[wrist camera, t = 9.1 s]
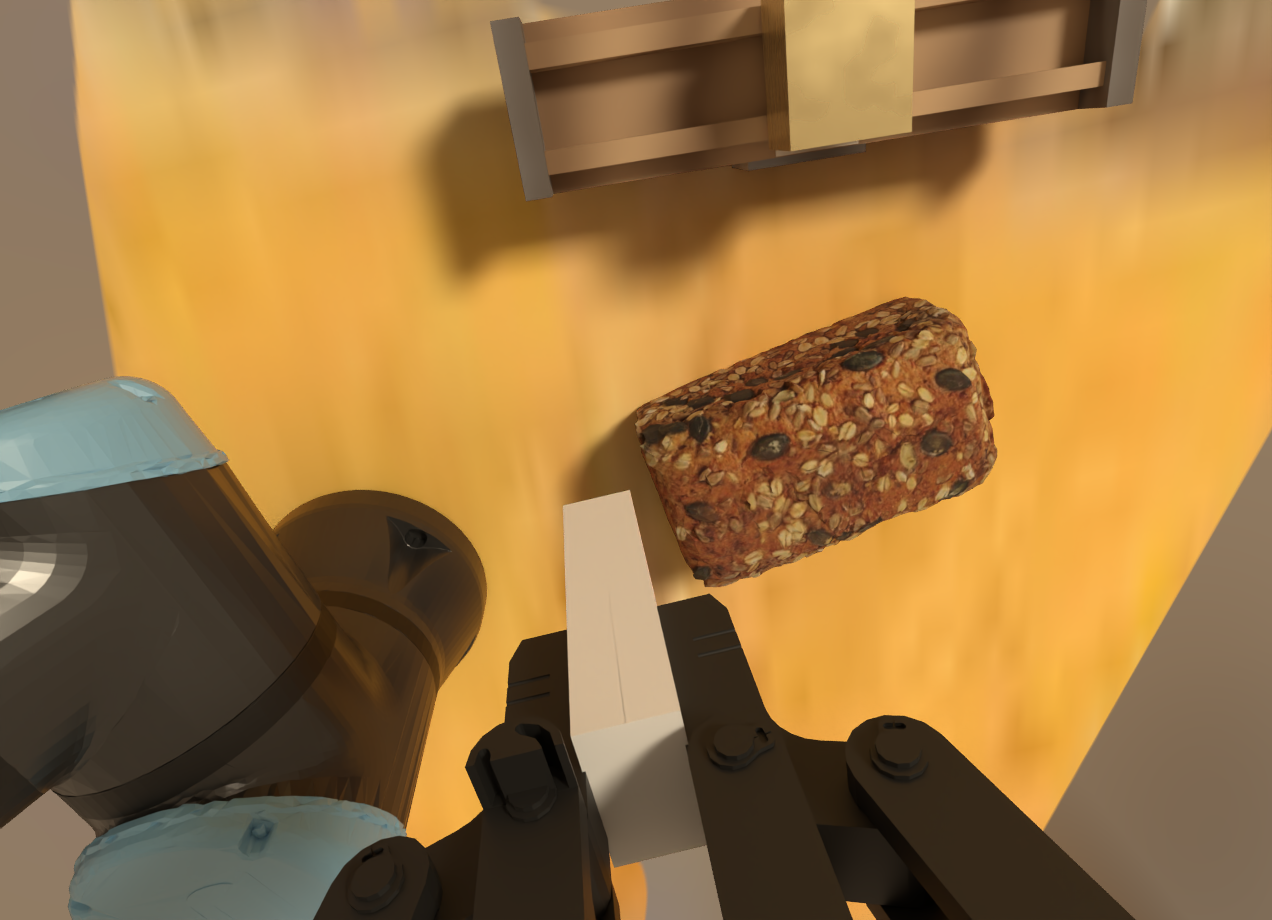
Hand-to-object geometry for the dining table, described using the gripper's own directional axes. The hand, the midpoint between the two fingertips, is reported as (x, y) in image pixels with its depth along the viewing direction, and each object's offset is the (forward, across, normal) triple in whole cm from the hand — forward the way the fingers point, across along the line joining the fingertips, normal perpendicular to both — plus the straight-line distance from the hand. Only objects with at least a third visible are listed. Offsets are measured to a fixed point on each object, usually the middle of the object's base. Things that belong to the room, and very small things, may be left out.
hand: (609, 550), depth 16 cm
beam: (+28, +14, +9) cm, 32 cm away
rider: (+22, +13, +9) cm, 27 cm away
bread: (+28, +12, -10) cm, 32 cm away
